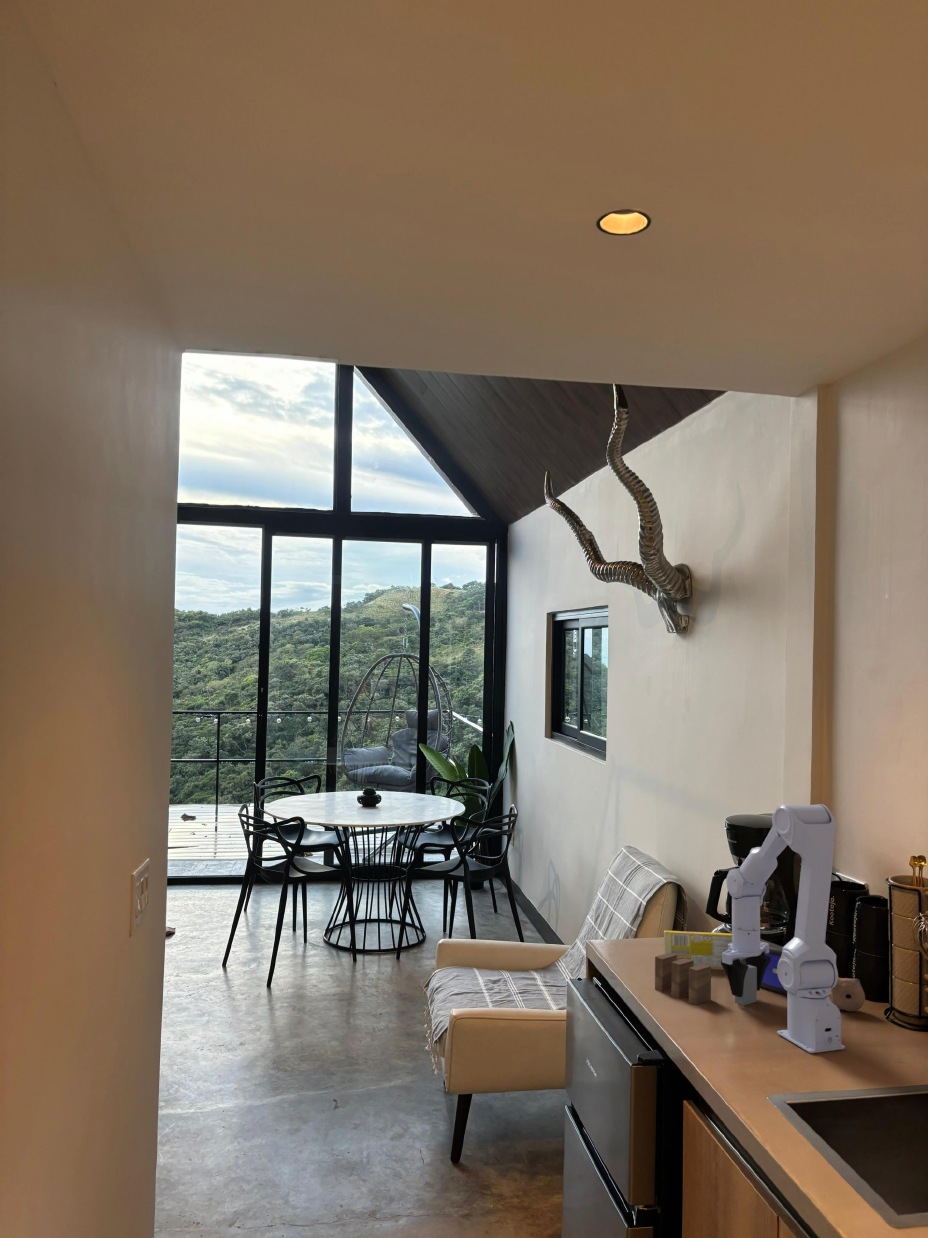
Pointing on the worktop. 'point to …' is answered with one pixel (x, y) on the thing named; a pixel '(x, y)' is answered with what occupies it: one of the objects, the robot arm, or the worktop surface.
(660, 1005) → the worktop surface
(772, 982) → the dark grey curved shell
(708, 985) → the domino
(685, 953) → the candy box
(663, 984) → the domino
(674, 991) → the domino
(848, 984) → the oil lamp
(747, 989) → the slate domino
